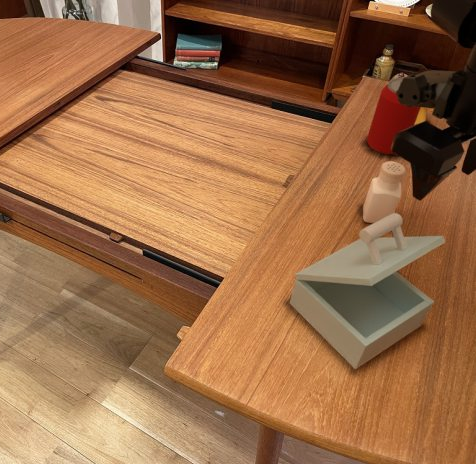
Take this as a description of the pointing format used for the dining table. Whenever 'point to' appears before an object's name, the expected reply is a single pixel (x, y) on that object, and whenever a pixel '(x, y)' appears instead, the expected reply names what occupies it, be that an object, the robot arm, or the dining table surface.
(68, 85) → the dining table surface
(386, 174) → the pepper shaker
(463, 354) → the dining table surface
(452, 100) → the robot arm
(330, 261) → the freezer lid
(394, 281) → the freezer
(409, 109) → the beverage can
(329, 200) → the dining table surface
